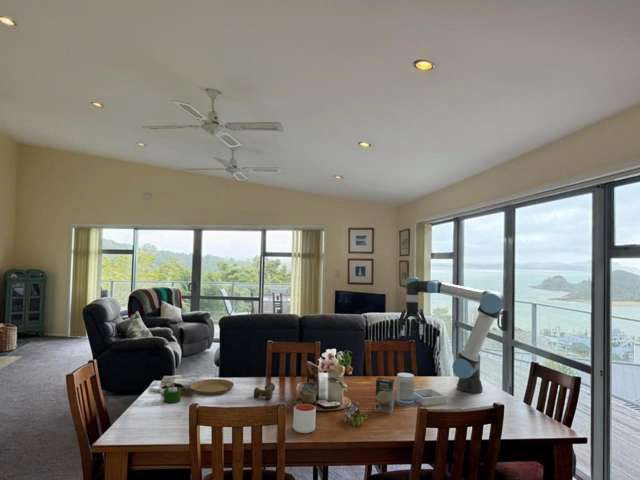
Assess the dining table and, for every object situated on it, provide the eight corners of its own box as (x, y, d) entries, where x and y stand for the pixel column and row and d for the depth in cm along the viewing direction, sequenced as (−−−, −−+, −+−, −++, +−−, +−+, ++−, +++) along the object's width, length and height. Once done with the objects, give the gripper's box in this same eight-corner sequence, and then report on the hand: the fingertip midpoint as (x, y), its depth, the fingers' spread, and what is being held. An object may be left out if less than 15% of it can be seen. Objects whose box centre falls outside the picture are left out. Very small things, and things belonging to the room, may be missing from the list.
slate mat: (409, 397, 247) (409, 397, 247) (420, 404, 236) (420, 404, 236) (390, 399, 243) (390, 398, 243) (401, 406, 232) (401, 406, 232)
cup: (292, 425, 201) (293, 403, 201) (314, 425, 202) (315, 403, 202) (293, 434, 191) (294, 411, 192) (315, 434, 192) (316, 411, 192)
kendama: (278, 392, 250) (267, 402, 230) (263, 391, 252) (250, 401, 232) (279, 382, 250) (267, 391, 231) (263, 381, 252) (250, 390, 233)
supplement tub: (417, 402, 238) (418, 375, 239) (405, 405, 233) (405, 378, 233) (405, 397, 246) (405, 371, 247) (392, 400, 241) (393, 373, 241)
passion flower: (345, 433, 208) (340, 407, 215) (367, 428, 209) (362, 403, 216) (347, 427, 198) (341, 401, 205) (370, 423, 200) (363, 397, 207)
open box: (430, 394, 254) (430, 388, 254) (446, 403, 240) (446, 396, 240) (408, 396, 249) (408, 389, 249) (423, 405, 235) (423, 398, 235)
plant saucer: (181, 391, 245) (181, 385, 245) (213, 381, 265) (213, 376, 265) (210, 400, 231) (211, 394, 231) (242, 389, 251) (242, 384, 252)
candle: (182, 402, 226) (183, 383, 226) (165, 404, 222) (166, 385, 222) (178, 397, 233) (179, 379, 234) (162, 399, 229) (163, 380, 229)
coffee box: (374, 411, 223) (375, 379, 224) (376, 407, 229) (377, 376, 230) (392, 414, 220) (393, 382, 221) (394, 409, 226) (395, 379, 227)
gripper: (425, 300, 284) (425, 333, 283) (392, 301, 275) (391, 334, 274) (432, 301, 277) (432, 335, 276) (398, 302, 268) (398, 336, 267)
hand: (412, 335), depth 275 cm, fingers open, 13 cm apart
